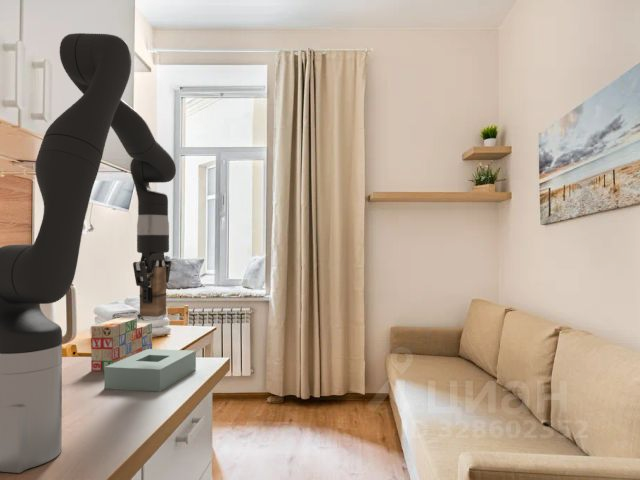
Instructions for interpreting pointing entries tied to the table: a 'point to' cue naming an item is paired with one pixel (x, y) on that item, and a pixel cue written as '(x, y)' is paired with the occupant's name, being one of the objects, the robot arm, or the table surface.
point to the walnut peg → (155, 295)
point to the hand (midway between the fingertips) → (153, 301)
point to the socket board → (149, 370)
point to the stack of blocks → (118, 341)
